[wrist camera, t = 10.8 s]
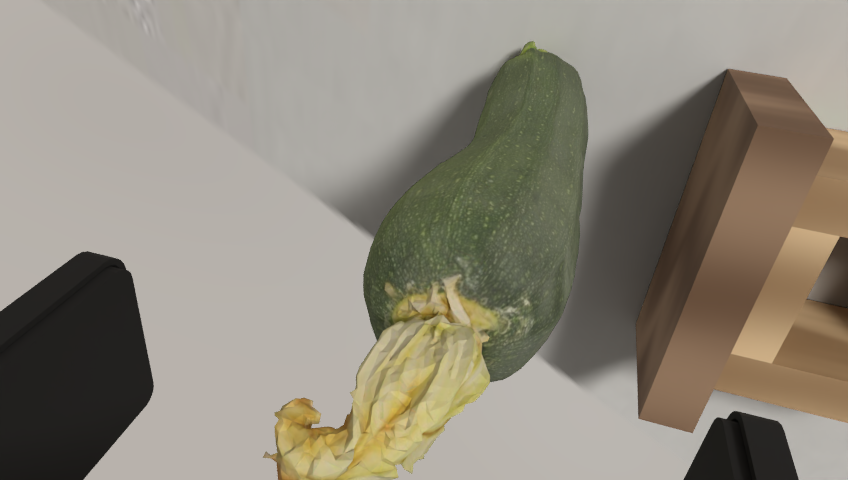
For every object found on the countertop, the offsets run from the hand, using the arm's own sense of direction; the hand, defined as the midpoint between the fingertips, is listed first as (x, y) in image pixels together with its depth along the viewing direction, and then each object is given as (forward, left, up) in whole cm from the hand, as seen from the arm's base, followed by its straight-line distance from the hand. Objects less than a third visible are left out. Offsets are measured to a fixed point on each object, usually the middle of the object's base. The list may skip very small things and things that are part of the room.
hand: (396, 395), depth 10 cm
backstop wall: (-4, -8, -18) cm, 20 cm away
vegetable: (0, 0, -18) cm, 18 cm away
